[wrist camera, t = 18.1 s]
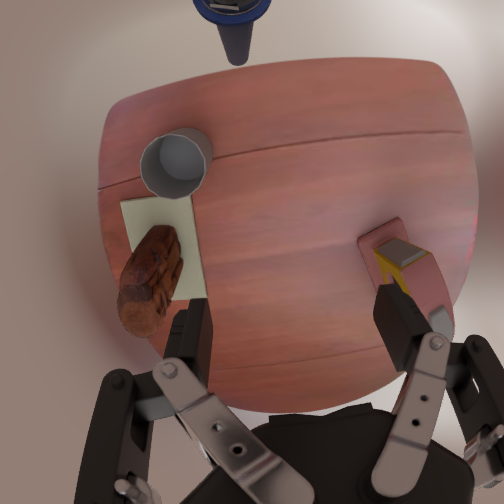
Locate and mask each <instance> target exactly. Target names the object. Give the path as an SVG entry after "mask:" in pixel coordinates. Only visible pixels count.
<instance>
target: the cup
mask: <svg viewBox="0 0 504 504" xmlns="http://www.w3.org/2000/svg"><path fill="white" fill-rule="evenodd" d="M212 160H213V146H212V144H211V142H210V141H209V139H208V137H207V136H206V135H205V134H204V133H202V132H201V131H199V130H198V129H194V128H188V127H183V128H180V129H176V130H173V131H171V132H169V133H166V134H164V135H162V136H160V137H157V138H155V139H154V140H153V141H152V142H151V143H150V144H149V145H148V146H147V147H146V148H145V149H144V152H143V155H142V157H141V160H140V172H141V178H142V180H143V181H144V183H145V185H146V186H147V188H148V190H150V191H151V192H153V193H154V194H155V195H157V196H158V197H160V198H164V199H170V200H178V199H181V198H185V197H189V196H190V195H191V194H192V193H193V192H194V191H196V190H197V189H198V188H199V187H200V185H201V183H202V181H203V179H204V177H205V175H206V173H207V171H208V169H209V167H210V164H211V162H212Z"/></svg>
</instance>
